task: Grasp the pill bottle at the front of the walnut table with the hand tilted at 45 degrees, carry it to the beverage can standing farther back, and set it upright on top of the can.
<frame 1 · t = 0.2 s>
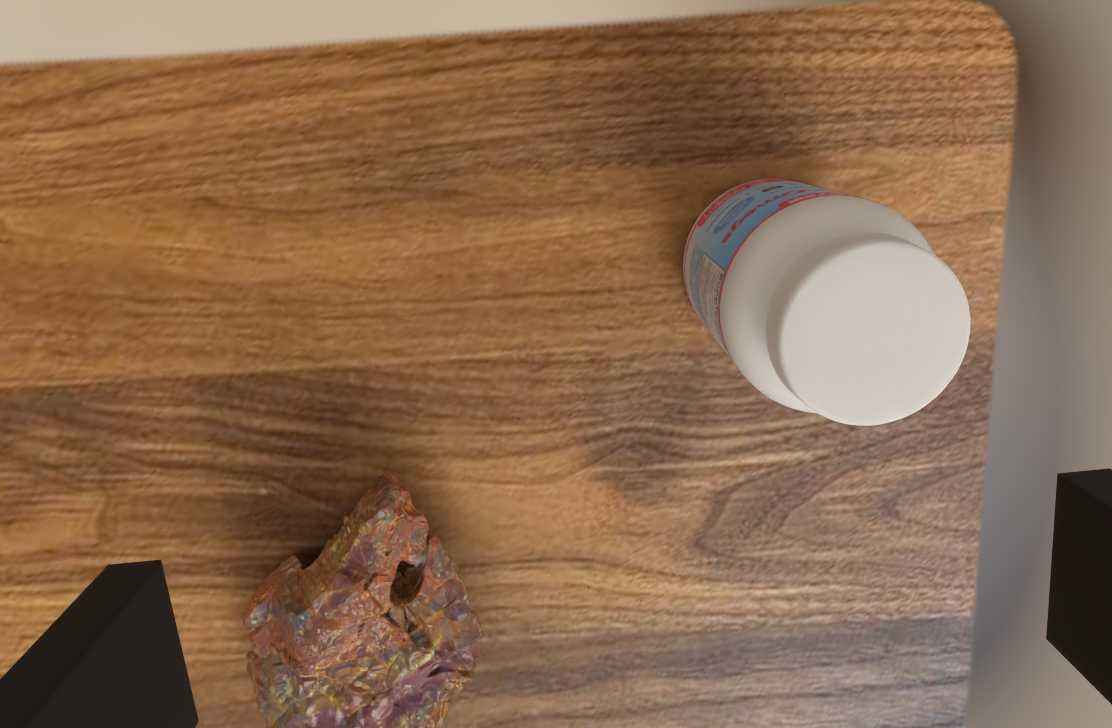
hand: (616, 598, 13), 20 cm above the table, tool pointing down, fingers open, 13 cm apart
mineral specimen: (372, 602, 35), on the table
pill bottle: (760, 262, 32), on the table
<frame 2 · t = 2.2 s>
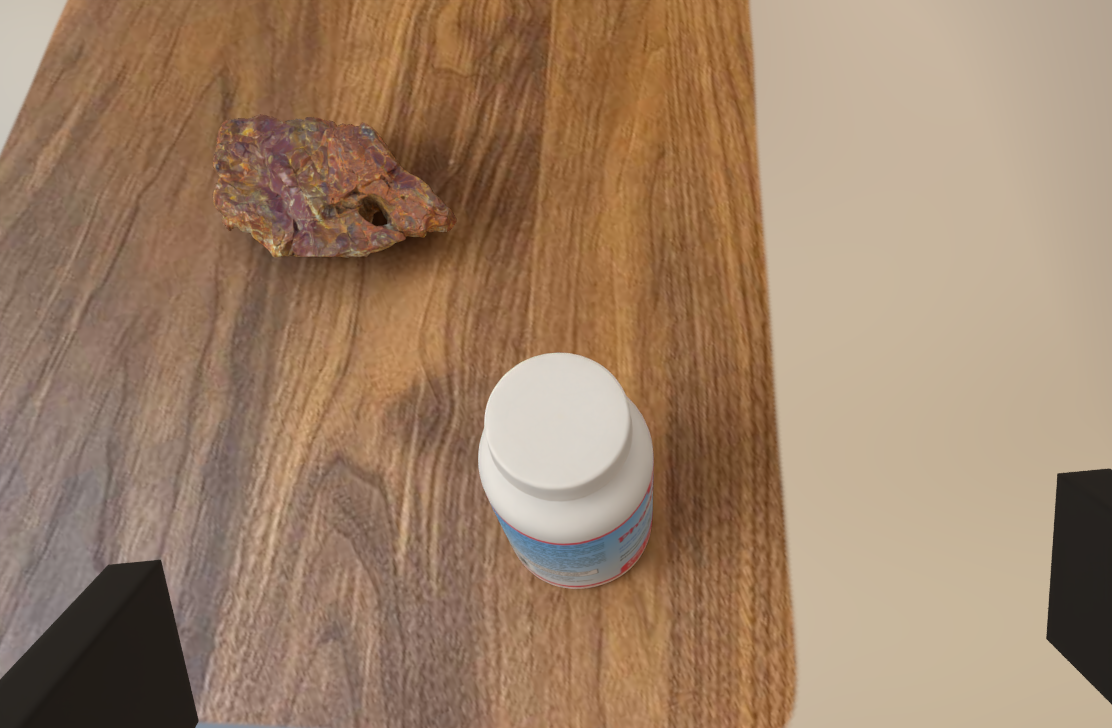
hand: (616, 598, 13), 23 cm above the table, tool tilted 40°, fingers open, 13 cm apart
mineral specimen: (347, 219, 46), on the table
pill bottle: (580, 520, 38), on the table
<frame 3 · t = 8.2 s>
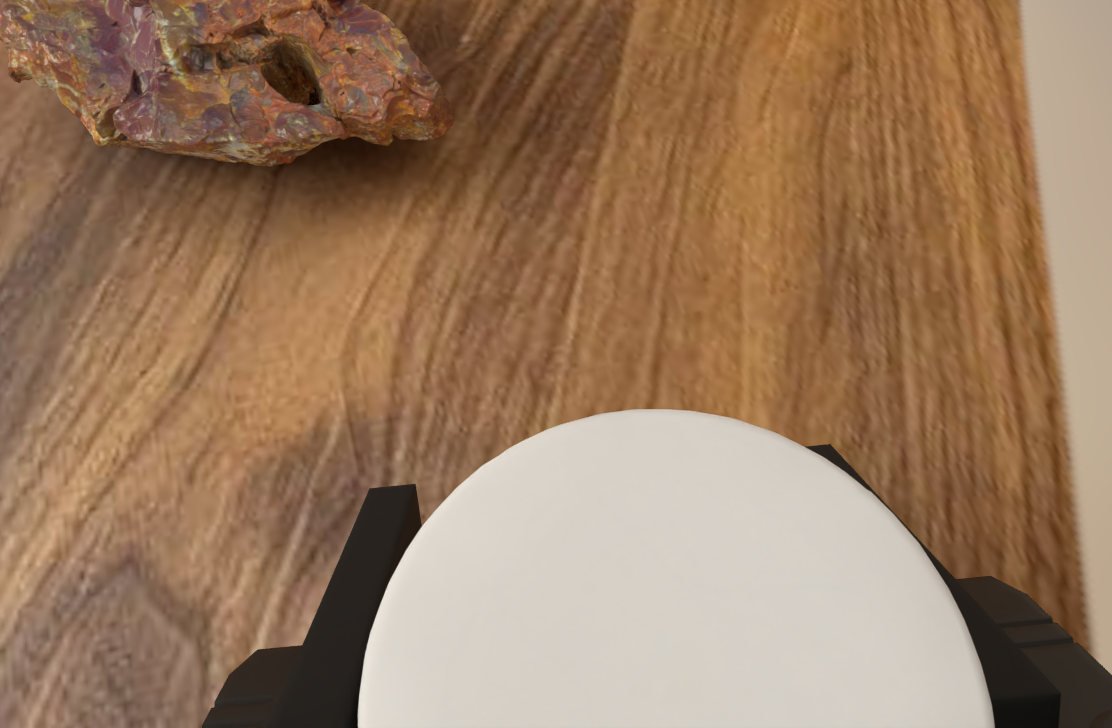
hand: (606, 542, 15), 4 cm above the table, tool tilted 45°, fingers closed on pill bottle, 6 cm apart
mineral specimen: (264, 111, 25), on the table
when the fingers open (19 cm above the table, at t = 20.2 s): pill bottle stays where it is, resting on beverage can.
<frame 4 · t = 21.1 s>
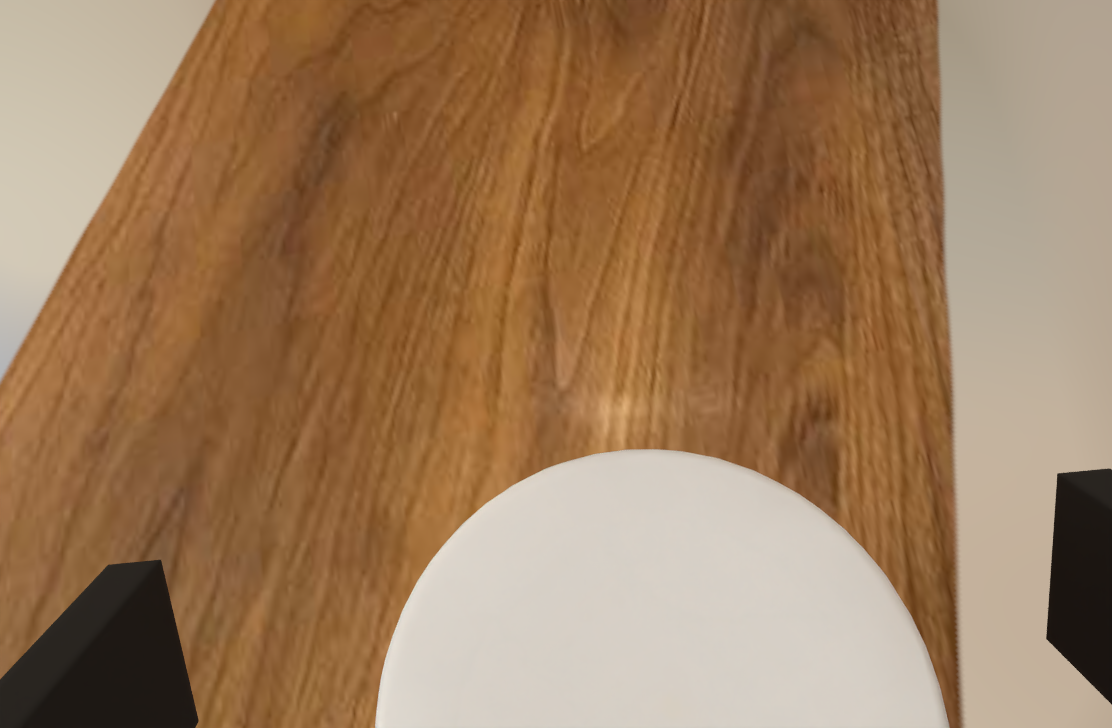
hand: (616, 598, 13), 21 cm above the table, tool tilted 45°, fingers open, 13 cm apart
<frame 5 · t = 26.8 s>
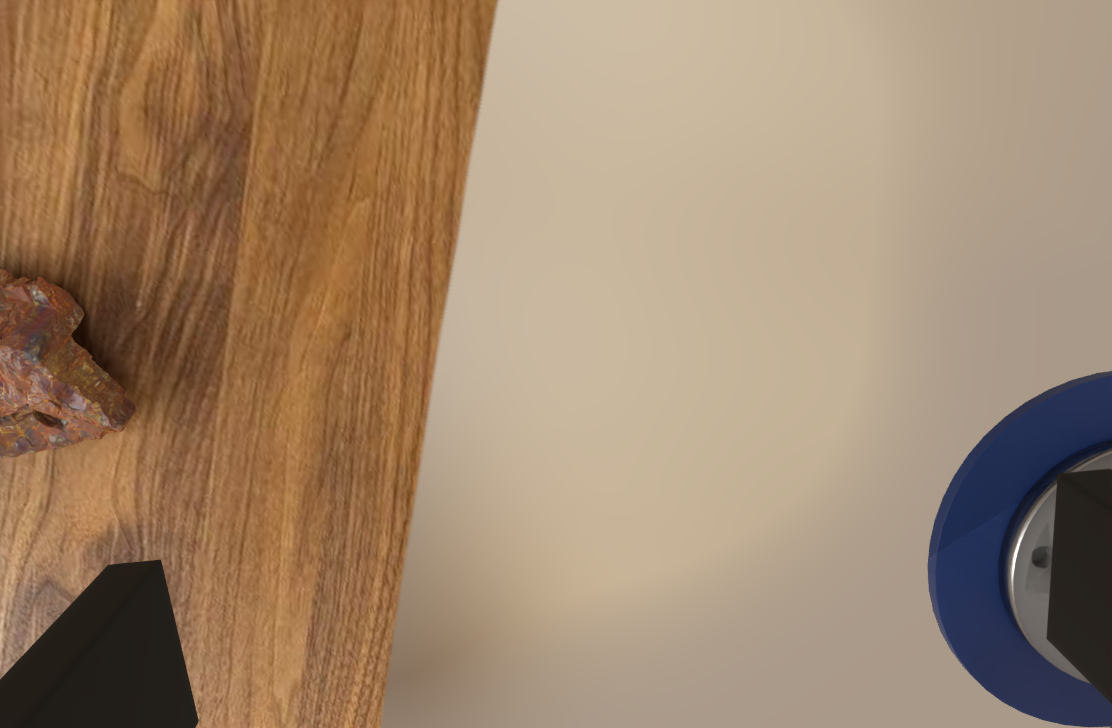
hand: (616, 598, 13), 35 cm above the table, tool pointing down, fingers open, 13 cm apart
mineral specimen: (36, 351, 47), on the table
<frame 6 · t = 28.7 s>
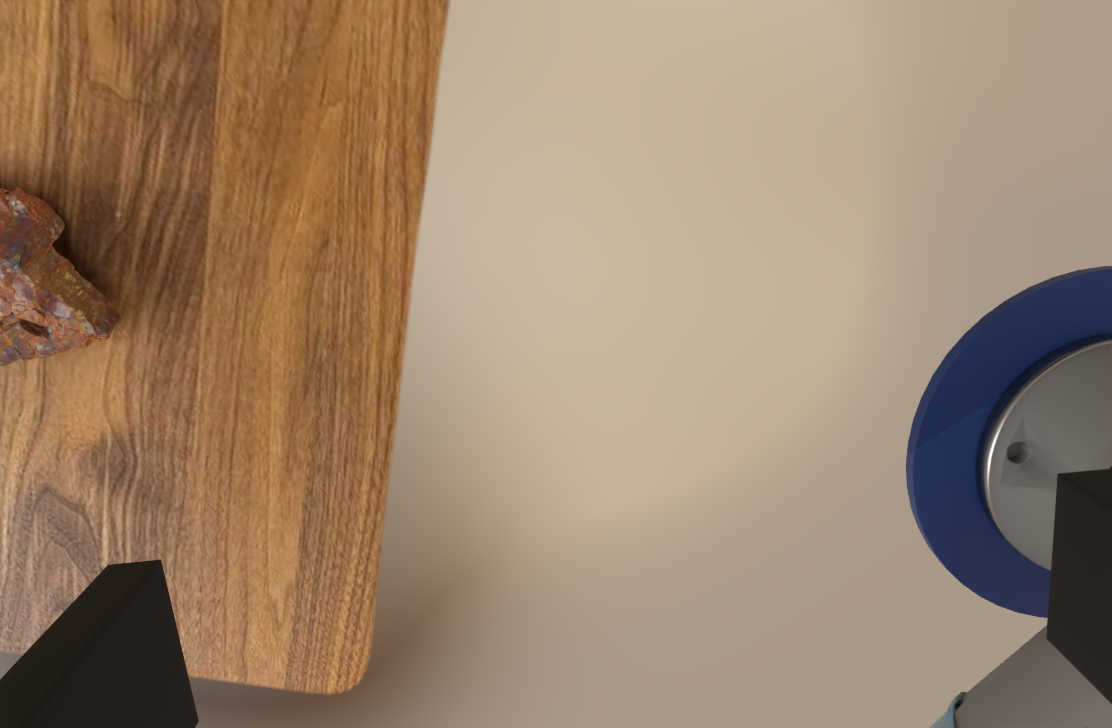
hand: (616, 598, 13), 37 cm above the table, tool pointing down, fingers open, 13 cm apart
mineral specimen: (20, 263, 48), on the table
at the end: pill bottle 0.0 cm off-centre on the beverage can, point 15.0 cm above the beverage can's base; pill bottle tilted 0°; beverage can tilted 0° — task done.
